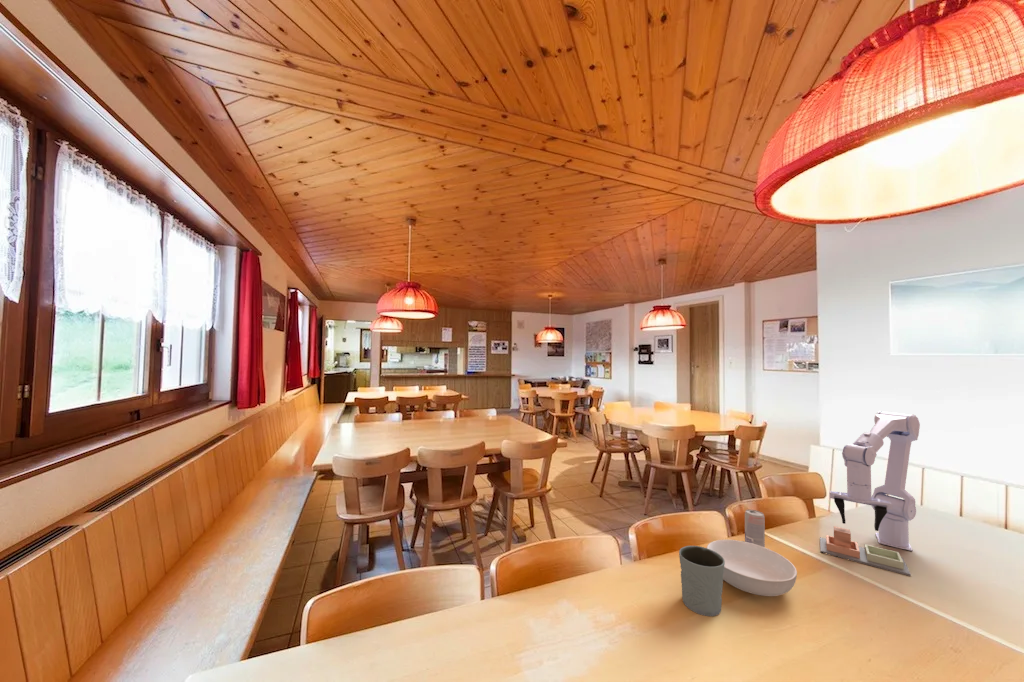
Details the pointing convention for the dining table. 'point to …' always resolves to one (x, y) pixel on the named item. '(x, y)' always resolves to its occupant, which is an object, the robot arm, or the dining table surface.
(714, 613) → the grey cup
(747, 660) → the dining table surface
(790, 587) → the serving bowl
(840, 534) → the terracotta block
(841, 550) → the sorting board
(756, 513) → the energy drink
